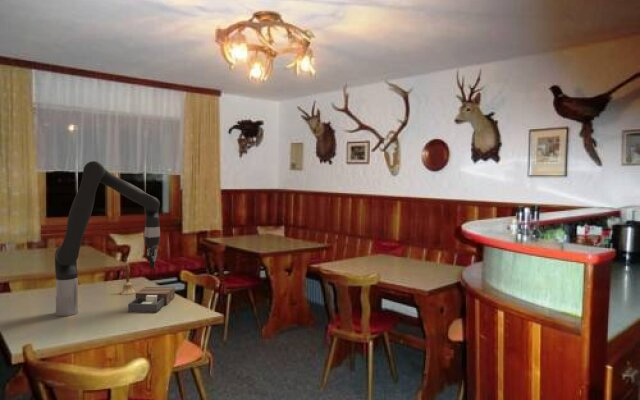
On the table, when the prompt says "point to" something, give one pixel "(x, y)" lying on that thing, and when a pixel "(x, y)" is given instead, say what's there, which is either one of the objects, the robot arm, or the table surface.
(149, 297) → the tile far
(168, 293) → the drawer box
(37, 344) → the table surface
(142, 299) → the box
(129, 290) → the hand bell
